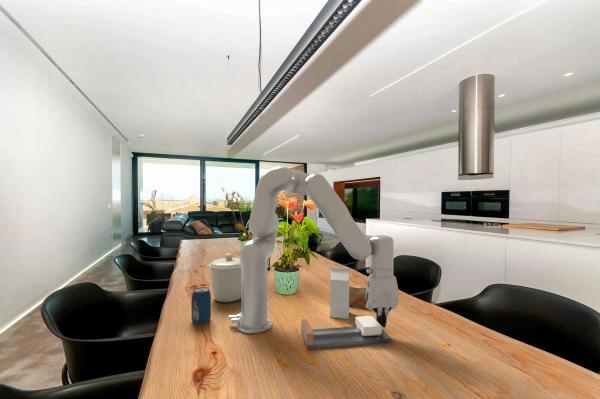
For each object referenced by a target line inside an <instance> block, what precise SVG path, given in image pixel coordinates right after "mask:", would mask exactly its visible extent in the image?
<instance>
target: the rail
mask: <svg viewBox="0 0 600 399" xmlns="http://www.w3.org/2000/svg"><path fill="white" fill-rule="evenodd" d="M301 337H302V340H303V343H304V345H305V349H306V350H307V351H311V350H323V349H334V348H335V349H336V348H337V349H339V348H348V347H359V346H360V347H361V346H362V347H363V346H371V345H386V344H392V343H393V339H392V337H391V336H390V334H388V333H387V332H386V331H385V330H384V329H383V328H382V334H380V335H373V336H362V335H361V330H360V329H357V325H356V326H355V325H354V326H341V327H331V328H330V327H328V328H327V327H325V328H314V329H313V328H312V326H311V325H310V323H309V321H308V319H301Z"/></svg>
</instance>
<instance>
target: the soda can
mask: <svg viewBox="0 0 600 399" xmlns="http://www.w3.org/2000/svg"><path fill="white" fill-rule="evenodd" d="M211 318H212V292H211V291H210V288H209V287H206V286H205V287H204V286H201V287H197V288H194V289H193V292H192V293H191V320H192V323H193V324H194V323H195V325H204V324H207V323H208V322H209V321H210V320H211Z"/></svg>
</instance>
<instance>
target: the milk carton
mask: <svg viewBox="0 0 600 399" xmlns="http://www.w3.org/2000/svg"><path fill="white" fill-rule="evenodd" d="M329 280H330V284H329V286H330V288H329V290H330V291H329V295H330V298H329V302H330V303H329V305H330V306H329V307H330V308H329V312H330V313H329V317H330V318H335V319H337V318H338V319H346V320H347V319H349V317H350V316H349V313H350V306H349V286H350V268H349V267H334V266H331V268H330V278H329Z"/></svg>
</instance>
